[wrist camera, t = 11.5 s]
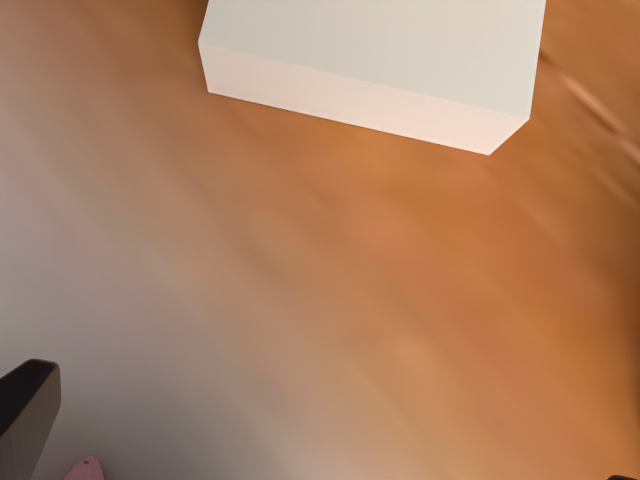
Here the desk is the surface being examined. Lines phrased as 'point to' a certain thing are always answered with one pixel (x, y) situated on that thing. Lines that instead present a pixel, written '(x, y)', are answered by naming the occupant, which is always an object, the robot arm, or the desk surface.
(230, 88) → the carton
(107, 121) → the desk surface
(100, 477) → the video game controller
